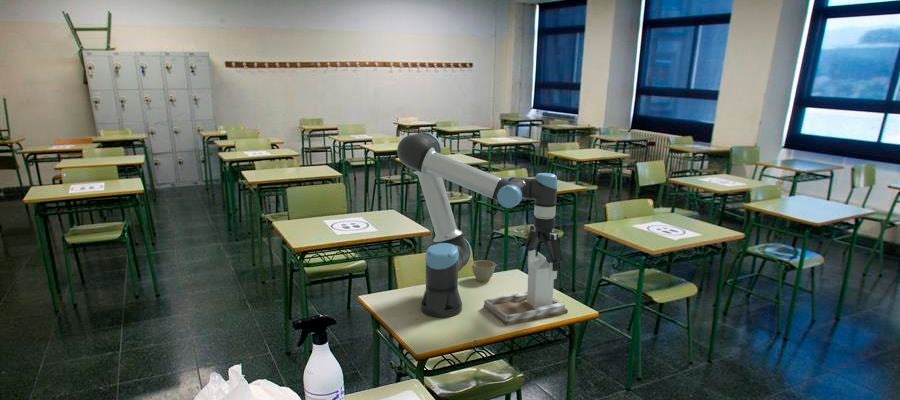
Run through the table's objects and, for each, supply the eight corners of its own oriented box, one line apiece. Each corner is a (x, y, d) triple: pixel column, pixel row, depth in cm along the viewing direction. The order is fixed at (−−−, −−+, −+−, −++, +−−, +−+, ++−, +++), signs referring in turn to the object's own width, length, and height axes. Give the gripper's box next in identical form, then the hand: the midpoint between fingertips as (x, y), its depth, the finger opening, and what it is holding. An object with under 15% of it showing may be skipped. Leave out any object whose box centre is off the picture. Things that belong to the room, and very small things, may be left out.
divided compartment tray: (505, 325, 177) (506, 316, 176) (483, 307, 191) (483, 299, 191) (567, 312, 188) (568, 304, 187) (541, 296, 202) (542, 289, 201)
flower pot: (493, 285, 214) (494, 268, 212) (469, 283, 215) (469, 266, 214) (496, 276, 223) (496, 261, 222) (473, 274, 225) (473, 259, 224)
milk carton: (544, 299, 196) (546, 251, 192) (552, 306, 190) (555, 257, 186) (526, 301, 195) (529, 252, 191) (534, 308, 188) (536, 258, 184)
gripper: (575, 223, 176) (571, 282, 180) (533, 208, 198) (531, 261, 202) (557, 225, 172) (553, 285, 177) (516, 210, 194) (514, 263, 199)
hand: (541, 272), depth 190 cm, fingers open, 13 cm apart
